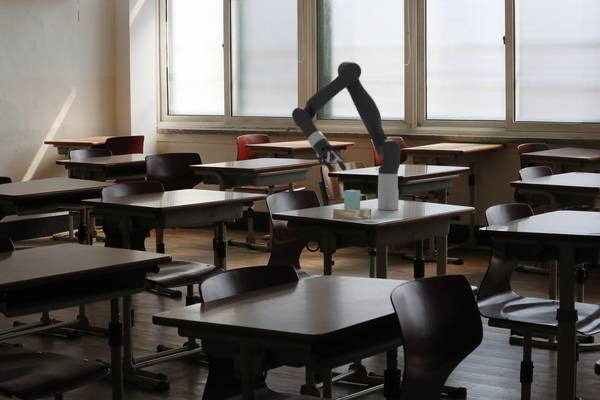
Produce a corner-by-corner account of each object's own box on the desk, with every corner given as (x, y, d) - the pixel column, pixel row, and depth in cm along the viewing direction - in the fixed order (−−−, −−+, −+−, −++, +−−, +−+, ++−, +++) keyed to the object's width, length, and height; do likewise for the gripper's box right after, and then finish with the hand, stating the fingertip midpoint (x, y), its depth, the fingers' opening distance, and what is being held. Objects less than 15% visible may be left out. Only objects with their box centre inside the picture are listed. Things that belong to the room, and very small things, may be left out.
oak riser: (350, 215, 451) (350, 206, 451) (371, 217, 443) (371, 208, 443) (332, 217, 442) (333, 208, 442) (354, 220, 434) (354, 210, 434)
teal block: (351, 207, 446) (351, 189, 445) (360, 208, 443) (360, 190, 442) (344, 208, 442) (344, 190, 442) (353, 209, 439) (353, 191, 438)
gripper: (313, 138, 447) (333, 165, 440) (334, 137, 457) (353, 163, 451) (304, 149, 451) (324, 176, 444) (325, 148, 461) (344, 174, 455)
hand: (338, 170), depth 447 cm, fingers open, 8 cm apart
